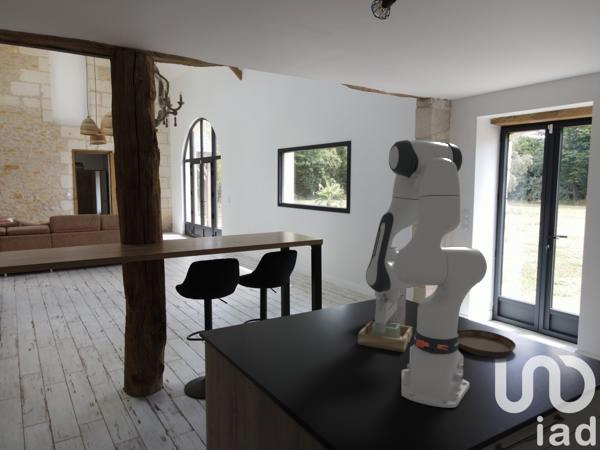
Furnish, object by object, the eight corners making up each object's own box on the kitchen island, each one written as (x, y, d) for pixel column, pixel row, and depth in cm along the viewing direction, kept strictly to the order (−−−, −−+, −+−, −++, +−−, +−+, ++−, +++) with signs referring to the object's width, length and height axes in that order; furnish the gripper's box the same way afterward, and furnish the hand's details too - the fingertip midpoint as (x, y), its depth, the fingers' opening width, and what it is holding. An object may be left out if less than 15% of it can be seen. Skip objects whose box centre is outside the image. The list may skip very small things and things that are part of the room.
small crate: (396, 342, 147) (397, 329, 147) (371, 338, 151) (371, 325, 150) (399, 337, 153) (400, 323, 152) (375, 333, 156) (376, 320, 156)
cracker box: (374, 318, 177) (376, 270, 175) (387, 317, 179) (388, 269, 177) (392, 329, 164) (394, 277, 162) (405, 328, 166) (407, 276, 164)
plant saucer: (518, 345, 150) (519, 336, 150) (510, 365, 133) (511, 355, 132) (458, 333, 161) (459, 325, 161) (444, 350, 144) (444, 341, 144)
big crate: (403, 352, 141) (404, 340, 141) (357, 344, 148) (358, 333, 148) (411, 337, 156) (412, 326, 156) (369, 330, 162) (370, 320, 162)
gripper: (389, 299, 140) (388, 339, 141) (401, 286, 158) (400, 322, 159) (371, 297, 142) (369, 336, 143) (385, 284, 161) (383, 320, 162)
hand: (386, 329), depth 152 cm, fingers open, 8 cm apart
